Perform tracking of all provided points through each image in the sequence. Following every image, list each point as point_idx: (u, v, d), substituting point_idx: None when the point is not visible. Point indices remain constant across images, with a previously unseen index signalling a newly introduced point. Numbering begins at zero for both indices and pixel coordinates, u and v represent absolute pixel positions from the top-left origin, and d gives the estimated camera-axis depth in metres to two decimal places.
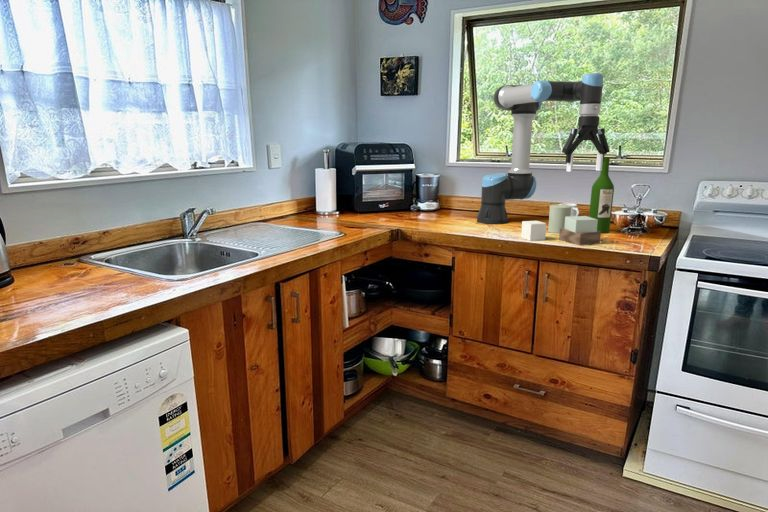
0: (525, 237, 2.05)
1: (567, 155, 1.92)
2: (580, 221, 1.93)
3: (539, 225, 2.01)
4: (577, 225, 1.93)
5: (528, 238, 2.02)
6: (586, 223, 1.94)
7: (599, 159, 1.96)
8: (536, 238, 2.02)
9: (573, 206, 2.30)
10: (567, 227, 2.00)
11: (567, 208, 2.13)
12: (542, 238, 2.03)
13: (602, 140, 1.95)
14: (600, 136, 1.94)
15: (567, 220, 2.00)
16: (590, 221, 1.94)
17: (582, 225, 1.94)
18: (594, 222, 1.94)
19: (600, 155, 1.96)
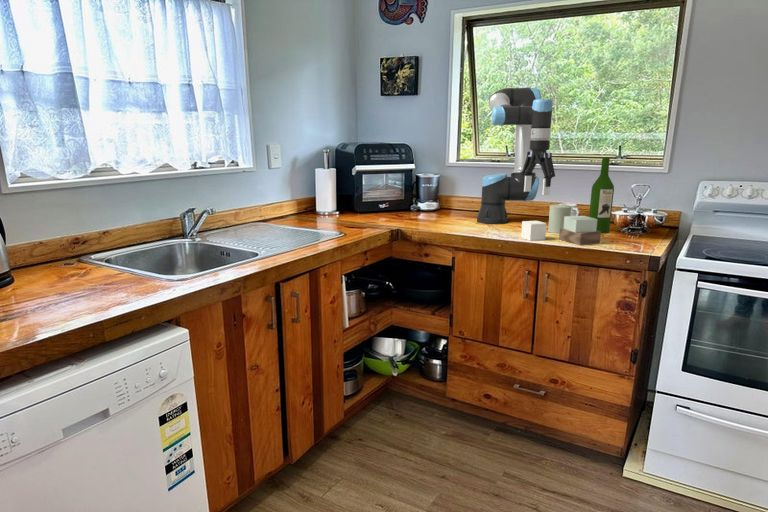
0: (525, 237, 2.05)
1: None
2: (580, 221, 1.93)
3: (539, 225, 2.01)
4: (577, 225, 1.93)
5: (528, 238, 2.02)
6: (586, 222, 1.94)
7: None
8: (536, 238, 2.02)
9: (573, 206, 2.30)
10: (567, 227, 2.00)
11: (567, 208, 2.13)
12: (542, 238, 2.03)
13: None
14: None
15: (566, 220, 2.00)
16: (590, 221, 1.94)
17: (582, 225, 1.94)
18: (594, 222, 1.94)
19: None
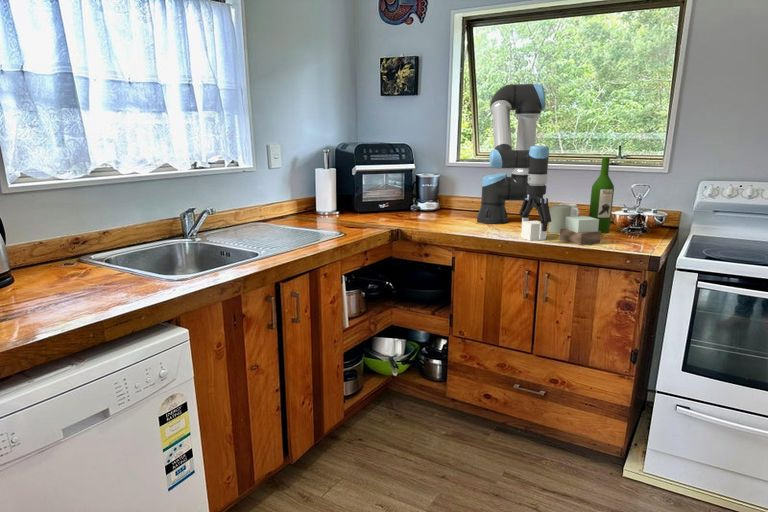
0: (525, 237, 2.05)
1: None
2: (582, 221, 1.93)
3: (539, 225, 2.01)
4: (580, 225, 1.93)
5: (528, 238, 2.02)
6: (588, 222, 1.94)
7: None
8: (536, 238, 2.02)
9: (573, 206, 2.30)
10: (568, 227, 2.00)
11: (567, 208, 2.13)
12: None
13: None
14: None
15: (568, 220, 1.99)
16: (592, 221, 1.94)
17: (584, 225, 1.94)
18: (595, 222, 1.95)
19: None
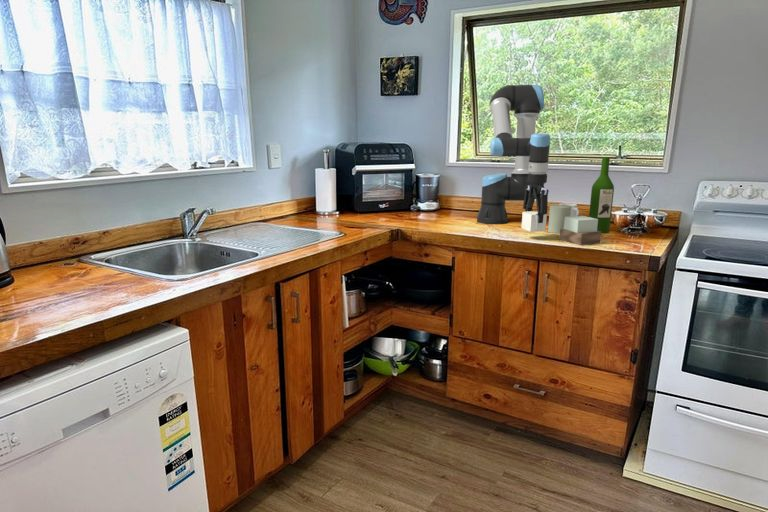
0: (525, 228, 2.04)
1: None
2: (582, 221, 1.93)
3: None
4: (579, 225, 1.94)
5: (528, 229, 2.02)
6: (587, 222, 1.94)
7: None
8: None
9: (573, 206, 2.30)
10: (567, 227, 2.00)
11: (567, 208, 2.13)
12: (542, 229, 2.02)
13: None
14: None
15: (567, 220, 2.00)
16: (591, 221, 1.94)
17: (583, 225, 1.94)
18: (595, 222, 1.95)
19: None
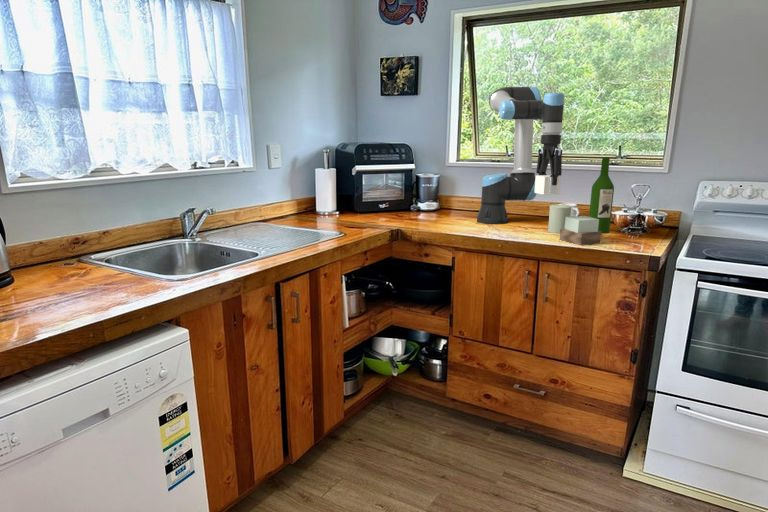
0: (538, 191, 1.98)
1: None
2: (582, 221, 1.93)
3: None
4: (580, 226, 1.93)
5: (542, 192, 1.96)
6: (588, 223, 1.94)
7: None
8: None
9: (573, 206, 2.30)
10: (568, 227, 1.99)
11: (567, 208, 2.13)
12: (556, 192, 1.96)
13: None
14: None
15: (568, 220, 1.99)
16: (592, 221, 1.94)
17: (584, 225, 1.93)
18: (595, 222, 1.94)
19: None
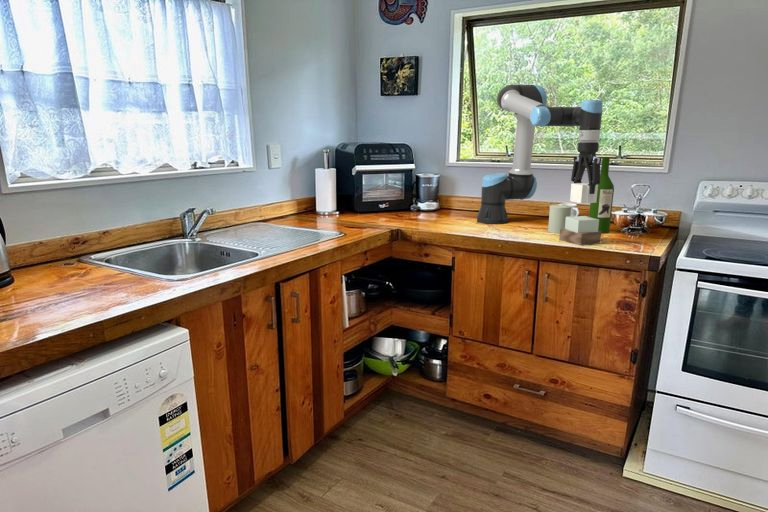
0: (575, 200, 1.95)
1: None
2: (582, 221, 1.93)
3: None
4: (580, 226, 1.93)
5: (579, 200, 1.93)
6: (588, 223, 1.94)
7: None
8: None
9: (573, 206, 2.30)
10: (568, 227, 1.99)
11: (567, 208, 2.13)
12: (593, 200, 1.93)
13: None
14: None
15: (568, 220, 1.99)
16: (592, 221, 1.94)
17: (584, 225, 1.94)
18: (595, 222, 1.94)
19: None
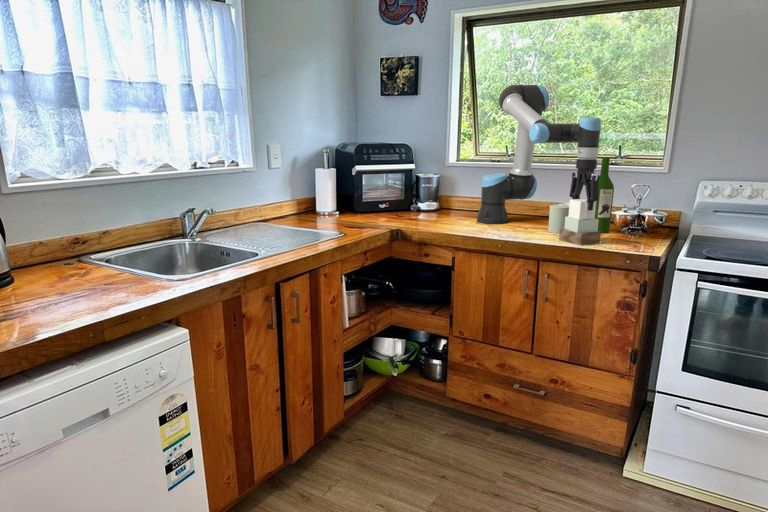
0: (573, 216, 1.97)
1: None
2: (582, 221, 1.93)
3: None
4: (579, 225, 1.93)
5: (577, 216, 1.94)
6: (588, 222, 1.94)
7: None
8: None
9: None
10: (568, 227, 2.00)
11: (567, 208, 2.13)
12: (591, 217, 1.95)
13: None
14: None
15: (568, 220, 2.00)
16: (591, 221, 1.94)
17: (584, 225, 1.94)
18: (595, 222, 1.95)
19: None
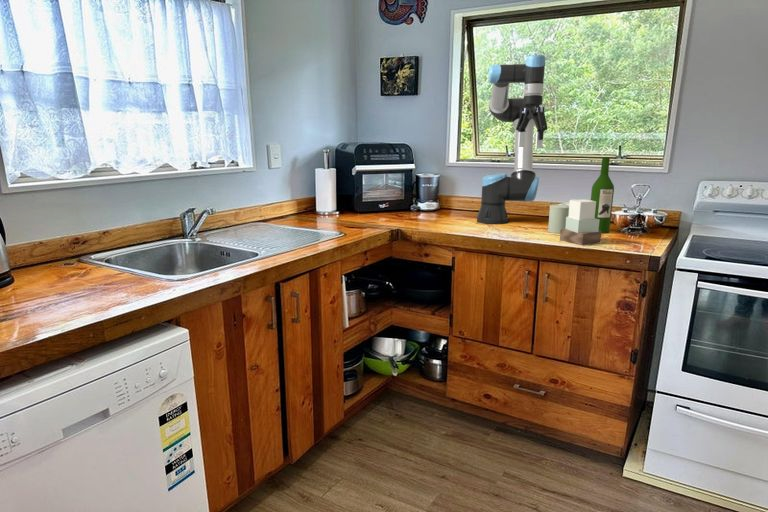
0: (573, 216, 1.97)
1: None
2: (582, 221, 1.93)
3: (589, 203, 1.93)
4: (580, 226, 1.93)
5: (577, 217, 1.94)
6: (588, 223, 1.94)
7: None
8: (585, 217, 1.94)
9: None
10: (569, 227, 1.99)
11: (567, 208, 2.13)
12: (591, 217, 1.95)
13: None
14: None
15: (568, 220, 1.99)
16: (592, 221, 1.94)
17: (584, 225, 1.94)
18: (596, 222, 1.94)
19: None
